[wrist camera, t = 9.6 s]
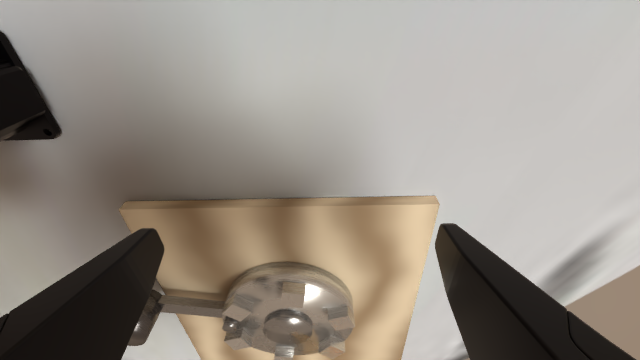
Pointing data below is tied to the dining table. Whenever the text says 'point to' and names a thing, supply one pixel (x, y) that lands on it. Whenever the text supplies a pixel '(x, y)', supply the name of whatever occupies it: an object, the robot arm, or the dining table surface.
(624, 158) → the dining table surface
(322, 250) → the base plate
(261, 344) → the gear crank handle
